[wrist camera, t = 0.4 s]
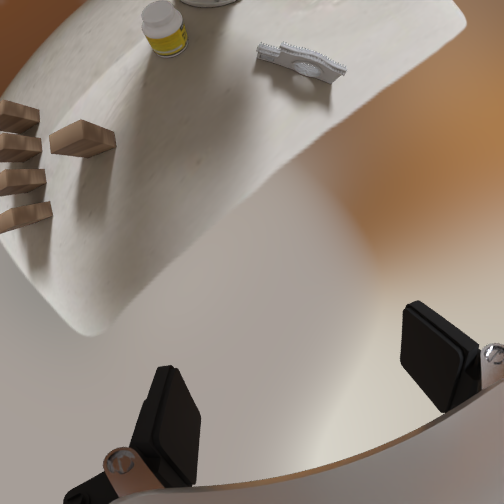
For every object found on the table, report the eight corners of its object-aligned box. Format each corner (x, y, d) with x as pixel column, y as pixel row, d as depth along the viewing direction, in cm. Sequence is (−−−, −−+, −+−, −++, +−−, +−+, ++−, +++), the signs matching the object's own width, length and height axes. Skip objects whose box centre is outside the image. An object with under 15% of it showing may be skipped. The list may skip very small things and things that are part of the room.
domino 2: (21, 149, 32) (-16, 147, 22) (41, 138, 32) (2, 132, 23) (23, 162, 33) (-16, 162, 23) (42, 151, 33) (3, 148, 23)
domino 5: (86, 143, 34) (49, 135, 24) (114, 132, 34) (81, 119, 24) (88, 158, 34) (50, 153, 24) (116, 147, 34) (83, 138, 25)
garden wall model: (254, 59, 33) (257, 41, 27) (257, 50, 32) (262, 31, 27) (332, 86, 34) (347, 73, 29) (334, 77, 34) (349, 63, 28)
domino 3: (25, 179, 34) (-14, 182, 24) (44, 169, 34) (5, 169, 24) (27, 192, 34) (-12, 198, 24) (46, 183, 34) (7, 186, 25)
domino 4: (30, 210, 35) (-8, 218, 25) (50, 201, 35) (11, 208, 25) (33, 223, 35) (-5, 235, 26) (53, 215, 36) (14, 225, 26)
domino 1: (20, 121, 31) (-16, 115, 21) (39, 109, 31) (3, 99, 21) (20, 133, 31) (-17, 128, 22) (39, 122, 31) (2, 113, 22)
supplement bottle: (193, 49, 32) (184, 16, 22) (159, 63, 32) (140, 34, 22) (183, 25, 30) (172, -9, 21) (149, 39, 30) (131, 8, 21)
